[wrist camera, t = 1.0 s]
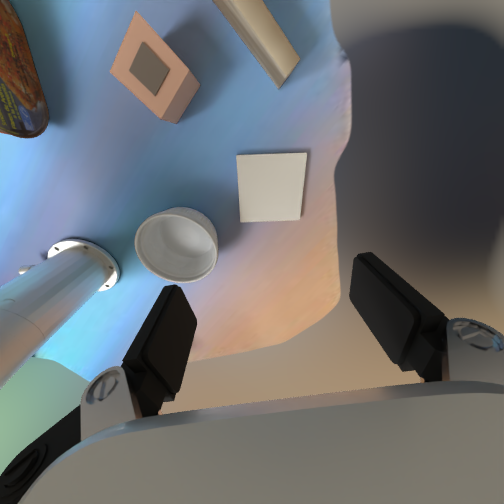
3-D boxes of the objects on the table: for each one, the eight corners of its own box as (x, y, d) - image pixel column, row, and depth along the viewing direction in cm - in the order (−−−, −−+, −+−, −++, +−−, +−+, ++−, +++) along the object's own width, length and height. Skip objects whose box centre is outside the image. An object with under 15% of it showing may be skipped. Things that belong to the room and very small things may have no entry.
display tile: (240, 220, 35) (240, 222, 34) (236, 154, 29) (236, 155, 28) (298, 218, 35) (299, 220, 34) (305, 152, 29) (307, 152, 29)
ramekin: (174, 269, 40) (162, 291, 34) (137, 213, 34) (114, 228, 28) (231, 252, 38) (229, 272, 32) (204, 190, 32) (195, 201, 26)
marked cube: (176, 124, 27) (160, 119, 22) (137, 86, 25) (108, 71, 19) (200, 85, 25) (188, 69, 20) (160, 40, 23) (134, 9, 17)
